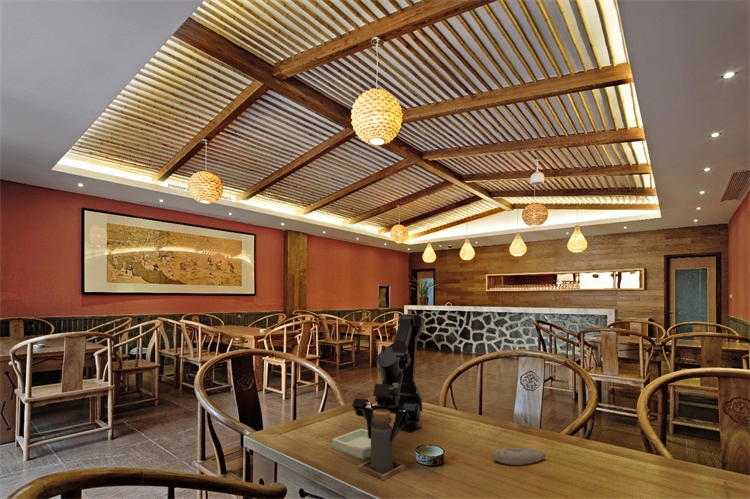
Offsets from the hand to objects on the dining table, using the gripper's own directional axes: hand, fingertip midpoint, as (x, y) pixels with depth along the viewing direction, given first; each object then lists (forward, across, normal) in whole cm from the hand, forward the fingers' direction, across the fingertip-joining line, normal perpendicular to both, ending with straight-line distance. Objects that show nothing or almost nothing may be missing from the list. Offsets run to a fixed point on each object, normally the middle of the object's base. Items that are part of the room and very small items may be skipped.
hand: (380, 439), depth 108 cm
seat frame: (+5, 0, +7) cm, 8 cm away
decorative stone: (-7, +35, +19) cm, 41 cm away
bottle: (+5, 0, +7) cm, 8 cm away
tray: (-4, -10, +15) cm, 19 cm away
